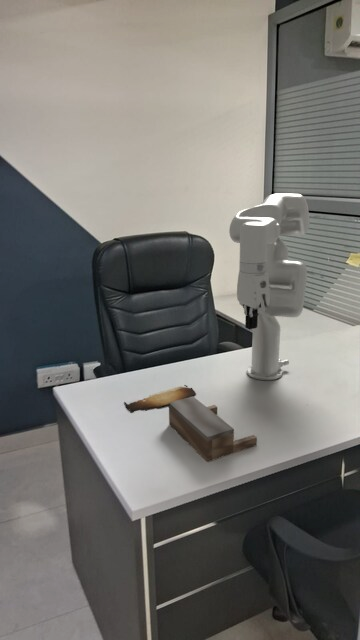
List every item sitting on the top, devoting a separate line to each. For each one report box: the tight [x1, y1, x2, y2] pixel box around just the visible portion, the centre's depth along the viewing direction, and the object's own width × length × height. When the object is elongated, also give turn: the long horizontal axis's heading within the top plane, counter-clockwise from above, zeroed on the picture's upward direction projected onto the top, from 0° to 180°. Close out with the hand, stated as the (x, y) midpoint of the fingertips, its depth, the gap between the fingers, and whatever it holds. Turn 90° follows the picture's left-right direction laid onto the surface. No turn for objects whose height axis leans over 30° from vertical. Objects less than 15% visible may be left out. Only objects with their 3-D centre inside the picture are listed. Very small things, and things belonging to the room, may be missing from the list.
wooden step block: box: [168, 395, 258, 463], centre depth 133 cm, size 16×21×7 cm
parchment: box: [124, 384, 197, 413], centre depth 155 cm, size 25×10×1 cm, turn 122°
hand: (251, 327), depth 141 cm, fingers closed
